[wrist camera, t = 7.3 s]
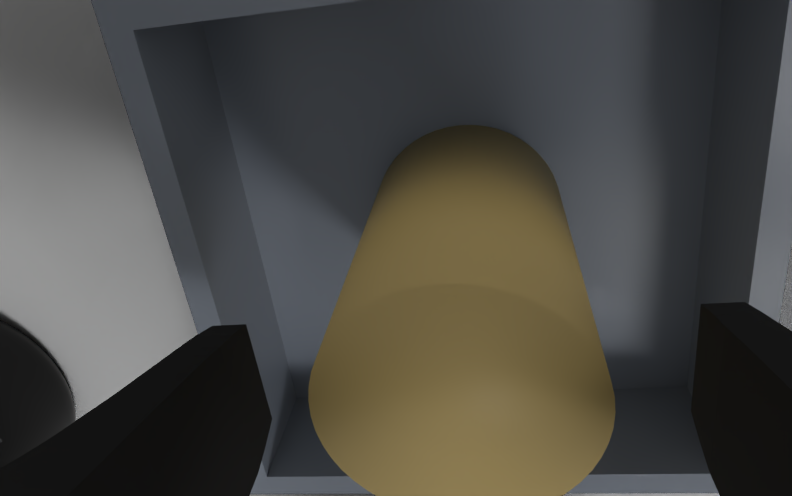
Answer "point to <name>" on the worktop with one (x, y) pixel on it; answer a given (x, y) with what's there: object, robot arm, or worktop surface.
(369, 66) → the bin
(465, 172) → the peg
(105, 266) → the worktop surface
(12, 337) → the supplement bottle
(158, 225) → the worktop surface
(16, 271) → the worktop surface
